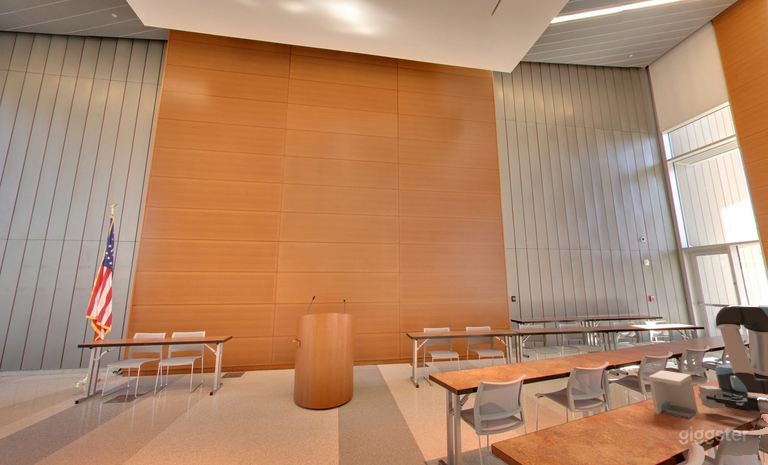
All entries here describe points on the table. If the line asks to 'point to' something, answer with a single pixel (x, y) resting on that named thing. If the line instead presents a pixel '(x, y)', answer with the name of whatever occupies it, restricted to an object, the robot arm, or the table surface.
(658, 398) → the cabinet
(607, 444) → the table surface
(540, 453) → the table surface
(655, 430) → the table surface
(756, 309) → the robot arm
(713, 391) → the small box
